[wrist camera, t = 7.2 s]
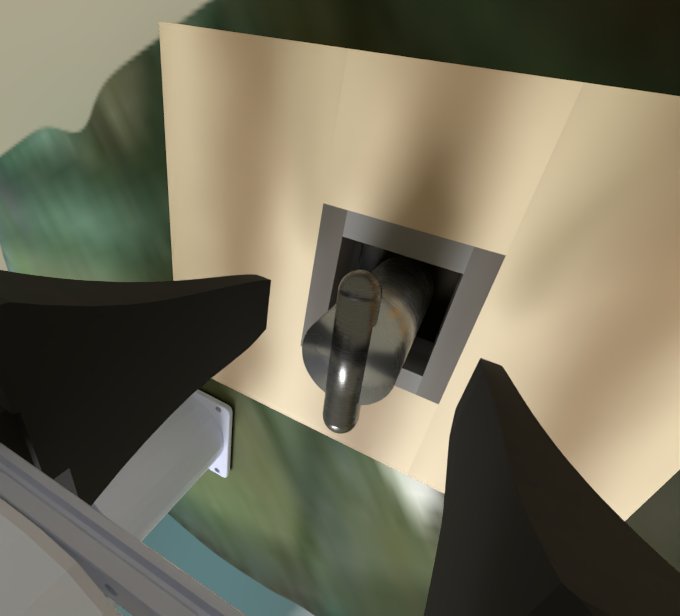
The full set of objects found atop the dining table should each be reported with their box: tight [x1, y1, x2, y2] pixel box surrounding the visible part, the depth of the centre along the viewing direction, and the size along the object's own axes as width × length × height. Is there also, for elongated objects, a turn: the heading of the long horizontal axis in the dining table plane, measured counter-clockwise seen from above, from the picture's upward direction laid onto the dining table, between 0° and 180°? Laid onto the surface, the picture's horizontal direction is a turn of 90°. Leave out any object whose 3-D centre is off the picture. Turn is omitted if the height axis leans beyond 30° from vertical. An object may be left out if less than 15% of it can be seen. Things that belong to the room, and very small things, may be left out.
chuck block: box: [159, 22, 680, 521], centre depth 14 cm, size 22×16×3 cm
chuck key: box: [302, 256, 434, 434], centre depth 12 cm, size 3×6×7 cm, turn 174°
